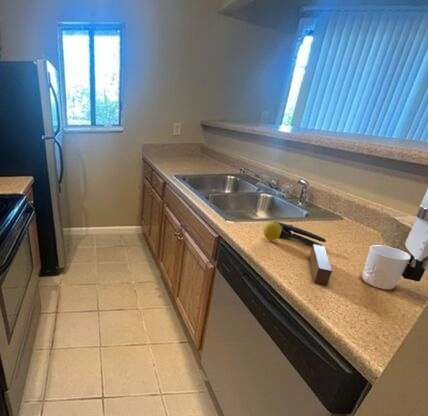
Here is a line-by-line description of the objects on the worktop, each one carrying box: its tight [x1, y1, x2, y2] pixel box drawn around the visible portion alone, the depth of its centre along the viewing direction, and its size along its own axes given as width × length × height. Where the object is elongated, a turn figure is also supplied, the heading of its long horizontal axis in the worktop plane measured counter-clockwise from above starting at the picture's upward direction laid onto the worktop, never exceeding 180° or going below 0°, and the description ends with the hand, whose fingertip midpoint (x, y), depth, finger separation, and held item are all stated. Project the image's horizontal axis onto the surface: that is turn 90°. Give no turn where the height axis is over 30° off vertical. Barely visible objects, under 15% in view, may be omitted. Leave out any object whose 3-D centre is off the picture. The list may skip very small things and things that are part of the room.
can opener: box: [276, 221, 327, 246], centre depth 102 cm, size 18×7×6 cm, turn 39°
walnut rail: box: [308, 244, 333, 287], centre depth 84 cm, size 3×16×5 cm, turn 149°
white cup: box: [361, 244, 411, 290], centre depth 77 cm, size 8×8×10 cm
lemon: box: [263, 220, 281, 242], centre depth 101 cm, size 6×6×8 cm
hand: (410, 278), depth 74 cm, fingers closed
